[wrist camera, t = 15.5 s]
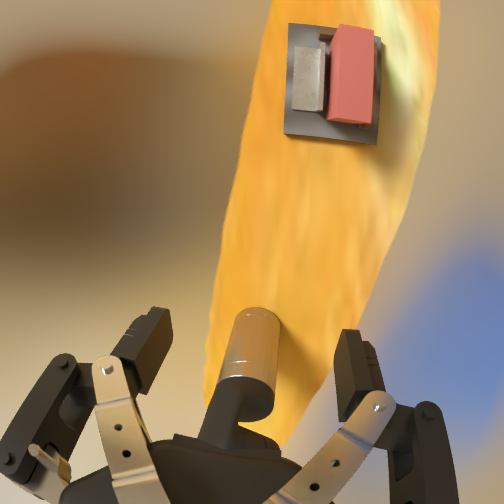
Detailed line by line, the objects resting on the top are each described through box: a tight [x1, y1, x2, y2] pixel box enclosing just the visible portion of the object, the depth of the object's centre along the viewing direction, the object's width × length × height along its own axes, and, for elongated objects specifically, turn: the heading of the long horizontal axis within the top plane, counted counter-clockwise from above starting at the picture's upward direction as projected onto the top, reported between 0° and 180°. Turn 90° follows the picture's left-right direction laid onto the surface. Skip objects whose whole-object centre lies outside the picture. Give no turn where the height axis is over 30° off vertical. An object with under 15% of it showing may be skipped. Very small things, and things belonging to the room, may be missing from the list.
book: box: [326, 24, 374, 124], centre depth 29 cm, size 4×12×10 cm, turn 177°
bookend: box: [292, 42, 325, 112], centre depth 33 cm, size 10×4×4 cm, turn 178°
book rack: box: [283, 23, 381, 145], centre depth 33 cm, size 18×14×6 cm
